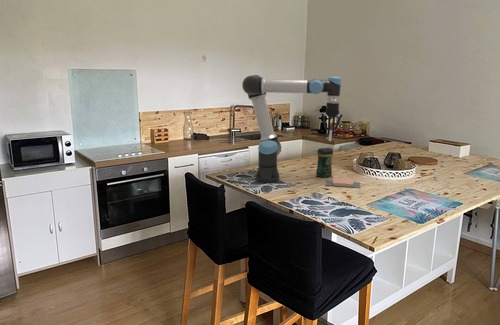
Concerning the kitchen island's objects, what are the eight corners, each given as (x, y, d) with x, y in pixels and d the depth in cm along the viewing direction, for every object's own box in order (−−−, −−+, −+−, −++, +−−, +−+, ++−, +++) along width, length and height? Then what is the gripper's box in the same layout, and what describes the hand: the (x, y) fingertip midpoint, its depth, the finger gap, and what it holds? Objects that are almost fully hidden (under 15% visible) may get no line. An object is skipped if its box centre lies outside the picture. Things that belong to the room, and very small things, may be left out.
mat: (325, 185, 225) (325, 185, 225) (326, 180, 235) (326, 180, 235) (360, 188, 220) (360, 187, 220) (359, 183, 230) (359, 182, 230)
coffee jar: (322, 178, 239) (323, 149, 235) (314, 175, 246) (315, 147, 241) (333, 176, 244) (335, 148, 239) (325, 173, 251) (327, 146, 246)
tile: (333, 179, 235) (332, 185, 224) (333, 177, 235) (332, 182, 224) (353, 181, 232) (353, 187, 221) (353, 178, 232) (353, 184, 221)
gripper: (322, 102, 228) (319, 141, 234) (344, 103, 227) (341, 142, 233) (321, 101, 236) (318, 139, 241) (342, 102, 234) (339, 139, 240)
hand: (329, 140), depth 237 cm, fingers closed
